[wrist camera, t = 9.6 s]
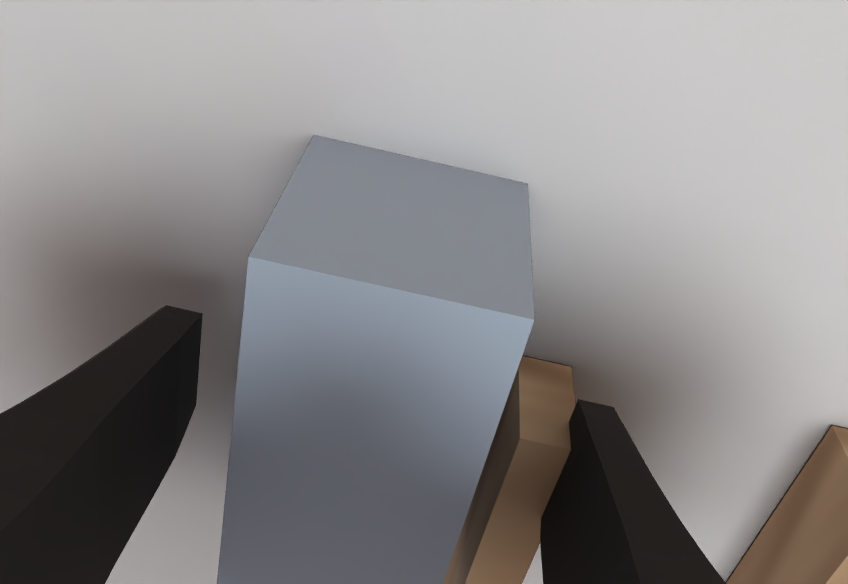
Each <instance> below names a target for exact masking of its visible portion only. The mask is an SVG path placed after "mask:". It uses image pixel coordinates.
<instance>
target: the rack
mask: <svg viewBox="0 0 848 584" xmlns="http://www.w3.org/2000/svg"><path fill="white" fill-rule="evenodd" d="M575 406H576V404H575V395H574V385H573V376H572V367H569V366H565V365H560V364H556V363H551V362H547V361H543V360H538V359H534V358H529V357H525V356H522V358H521V361H520V364H519V366H518V369H517V372H516V375H515V378H514V381H513V384H512V387H511V389H510V392H509V395H508V398H507V401H506V404H505V407H504V410H503V412H502V415H501V418H500V421H499V424H498V427H497V430H496V433H495V435H494V438H493V441H492V444H491V447H490V450H489V453H488V456H487V458H486V461H485V464H484V467H483V470H482V473H481V476H480V479H479V481H478V484H477V487H476V490H475V493H474V496H473V499H472V501H471V504H470V507H469V510H468V513H467V516H466V519H465V522H464V524H463V527H462V530H461V533H460V536H459V539H458V542H457V545H456V547H455V550H454V553H453V556H452V559H451V562H450V565H449V568H448V570H447V573H446V576H445V579H444V582H443V584H522V582H523V580H524V578H525V575H526V573H527V571H528V569H529V566H530V564H531V562H532V560H533V557H534V555H535V553H536V551H537V548H538V546H539V544H540V528H541V517H542V515H543V513H544V510H545V508H546V506H547V504H548V501H549V499H550V497H551V494H552V492H553V490H554V488H555V485H556V483H557V481H558V478H559V476H560V474H561V472H562V469H563V467H564V465H565V462H566V460H567V458H568V456H569V453H570V451H571V443H570V431H569V420H570V418H571V415H572V413H573V411H574V408H575ZM726 584H848V429H845V428H840V427H836V426H831V428H830V429H829V431H828V432H827V434H826V435H825V437H824V438H823V440H822V441H821V443H820V444H819V446H818V447H817V449H816V450H815V452H814V453H813V455H812V456H811V458H810V459H809V461H808V462H807V464H806V465H805V466H804V468H803V469H802V471H801V472H800V474H799V475H798V477H797V478H796V480H795V481H794V483H793V484H792V486H791V487H790V489H789V490H788V492H787V493H786V495H785V496H784V498H783V499H782V501H781V502H780V504H779V505H778V507H777V508H776V510H775V511H774V513H773V514H772V516H771V517H770V519H769V520H768V522H767V523H766V525H765V526H764V528H763V529H762V531H761V532H760V533H759V535H758V536H757V538H756V539H755V541H754V542H753V544H752V545H751V547H750V548H749V550H748V551H747V553H746V554H745V556H744V557H743V559H742V560H741V562H740V563H739V565H738V566H737V568H736V569H735V571H734V572H733V574H732V575H731V577H730V578H729V580H728V581H727V583H726Z"/></svg>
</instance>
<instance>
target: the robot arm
mask: <svg viewBox="0 0 848 584" xmlns="http://www.w3.org/2000/svg"><path fill="white" fill-rule="evenodd" d="M201 327H202V313H197V312H193V311H189V310H184V309H180V308H175V307H171V306H167V305H166V306H165V307H163V308H161V309H159V310H158V311H157V312H155V313H154V314H152V315H151V316H150V317H148V318H147V319H146V320H144V321H143V322H142V323H140V324H139V325H138V326H136V327H135V328H133V329H132V330H131V331H129V332H128V333H127V334H125V335H124V336H122V337H121V338H120V339H118V340H117V341H115V342H114V343H113V344H111V345H110V346H108V347H107V348H106V349H104V350H103V351H101V352H100V353H98V354H97V355H95V356H94V357H92V358H91V359H89V360H88V361H86V362H85V363H83V364H82V365H81V366H79V367H78V368H76V369H75V370H73V371H72V372H70V373H69V374H67V375H65V376H64V377H62V378H61V379H59V380H57V381H56V382H54V383H52V384H51V385H49V386H47V387H46V388H44V389H42V390H41V391H39V392H37V393H36V394H34V395H33V396H31V397H29V398H28V399H26V400H24V401H23V402H21V403H19V404H17V405H15V406H14V407H12V408H10V409H8V410H6V411H5V412H3V413H1V414H0V584H105V583H106V581H107V579H108V577H109V575H110V573H111V571H112V569H113V567H114V565H115V563H116V562H117V560H118V558H119V556H120V554H121V553H122V551H123V549H124V547H125V546H126V544H127V542H128V540H129V538H130V537H131V535H132V533H133V531H134V530H135V528H136V526H137V524H138V522H139V521H140V519H141V517H142V515H143V514H144V512H145V510H146V508H147V506H148V505H149V503H150V501H151V499H152V498H153V496H154V494H155V492H156V490H157V489H158V487H159V485H160V483H161V481H162V480H163V478H164V476H165V474H166V472H167V471H168V469H169V467H170V465H171V463H172V461H173V460H174V458H175V456H176V453H177V451H178V448H179V446H180V444H181V441H182V439H183V436H184V434H185V431H186V429H187V426H188V424H189V421H190V419H191V416H192V414H193V411H194V409H195V406H196V397H197V383H198V369H199V355H200V341H201ZM569 431H570V443H571V451H570V453H569V456H568V458H567V460H566V462H565V465H564V467H563V469H562V472H561V474H560V476H559V478H558V481H557V483H556V485H555V488H554V490H553V492H552V494H551V497H550V499H549V501H548V504H547V506H546V508H545V510H544V513H543V515H542V517H541V528H540V543H541V558H542V571H543V584H726V582H725V581H724V580H723V579H722V578H721V576H720V575H719V574H718V572H717V571H716V570H715V569H714V567H713V566H712V565H711V563H710V562H709V561H708V559H707V558H706V557H705V555H704V554H703V552H702V551H701V549H700V548H699V547H698V545H697V544H696V542H695V541H694V539H693V538H692V537H691V535H690V534H689V532H688V531H687V529H686V528H685V527H684V525H683V524H682V522H681V521H680V519H679V518H678V516H677V515H676V513H675V511H674V510H673V508H672V507H671V505H670V503H669V502H668V500H667V499H666V497H665V495H664V494H663V492H662V491H661V489H660V487H659V486H658V484H657V482H656V481H655V479H654V477H653V476H652V474H651V472H650V471H649V469H648V467H647V465H646V464H645V462H644V460H643V458H642V457H641V455H640V453H639V451H638V450H637V448H636V446H635V444H634V443H633V441H632V439H631V437H630V436H629V434H628V432H627V430H626V428H625V427H624V425H623V423H622V421H621V420H620V418H619V416H618V414H617V413H616V411H615V409H614V408H613V407H610V406H606V405H601V404H597V403H592V402H588V401H584V400H579V399H578V401H577V404H576V406H575V408H574V411H573V413H572V415H571V418H570V420H569Z"/></svg>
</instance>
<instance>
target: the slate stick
mask: <svg viewBox="0 0 848 584" xmlns="http://www.w3.org/2000/svg"><path fill="white" fill-rule="evenodd" d="M534 321H535V315H534V295H533V275H532V256H531V236H530V216H529V196H528V184H527V183H523V182H518V181H514V180H510V179H505V178H501V177H496V176H492V175H488V174H483V173H479V172H475V171H470V170H466V169H461V168H457V167H453V166H448V165H444V164H440V163H435V162H431V161H426V160H422V159H418V158H413V157H409V156H405V155H400V154H396V153H391V152H387V151H383V150H378V149H374V148H369V147H365V146H361V145H356V144H352V143H348V142H343V141H339V140H334V139H330V138H326V137H321V136H317V135H314V136H313V138H312V139H311V141H310V143H309V145H308V147H307V149H306V151H305V152H304V154H303V156H302V158H301V160H300V162H299V164H298V165H297V167H296V169H295V171H294V173H293V175H292V177H291V178H290V180H289V182H288V184H287V186H286V188H285V190H284V192H283V193H282V195H281V197H280V199H279V201H278V203H277V205H276V206H275V208H274V210H273V212H272V214H271V216H270V218H269V219H268V221H267V223H266V225H265V227H264V229H263V231H262V232H261V234H260V236H259V238H258V240H257V242H256V244H255V245H254V247H253V249H252V251H251V253H250V255H249V257H248V267H247V277H246V288H245V298H244V308H243V319H242V329H241V339H240V350H239V360H238V371H237V381H236V391H235V402H234V412H233V422H232V433H231V443H230V453H229V464H228V474H227V484H226V495H225V505H224V516H223V526H222V536H221V547H220V557H219V567H218V578H217V584H443V582H444V579H445V576H446V573H447V570H448V568H449V565H450V562H451V559H452V556H453V553H454V550H455V547H456V545H457V542H458V539H459V536H460V533H461V530H462V527H463V524H464V522H465V519H466V516H467V513H468V510H469V507H470V504H471V501H472V499H473V496H474V493H475V490H476V487H477V484H478V481H479V479H480V476H481V473H482V470H483V467H484V464H485V461H486V458H487V456H488V453H489V450H490V447H491V444H492V441H493V438H494V435H495V433H496V430H497V427H498V424H499V421H500V418H501V415H502V412H503V410H504V407H505V404H506V401H507V398H508V395H509V392H510V389H511V387H512V384H513V381H514V378H515V375H516V372H517V369H518V366H519V364H520V361H521V358H522V355H523V352H524V349H525V346H526V343H527V341H528V338H529V335H530V332H531V329H532V326H533V323H534Z"/></svg>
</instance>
